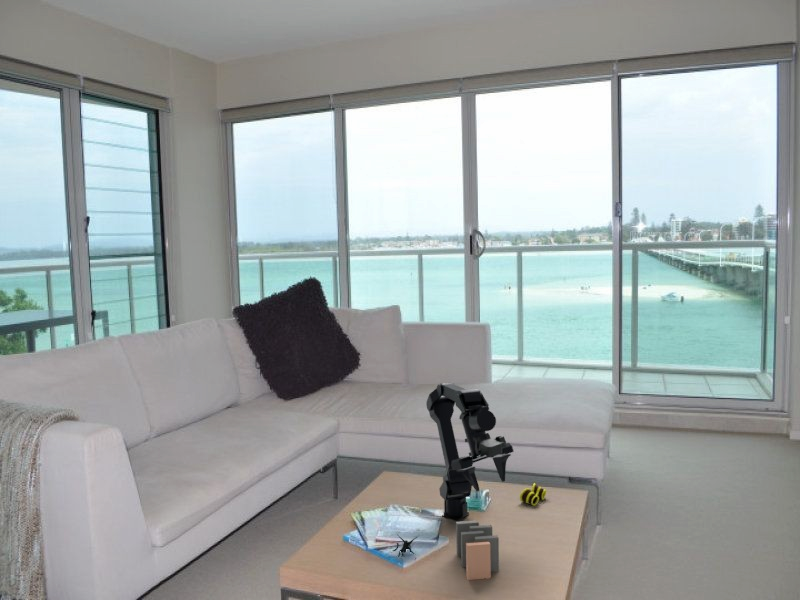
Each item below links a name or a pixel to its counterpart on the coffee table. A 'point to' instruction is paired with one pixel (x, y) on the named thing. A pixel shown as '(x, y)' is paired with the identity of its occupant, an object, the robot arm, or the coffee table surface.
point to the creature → (404, 546)
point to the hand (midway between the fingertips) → (491, 486)
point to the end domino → (478, 560)
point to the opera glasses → (532, 495)
